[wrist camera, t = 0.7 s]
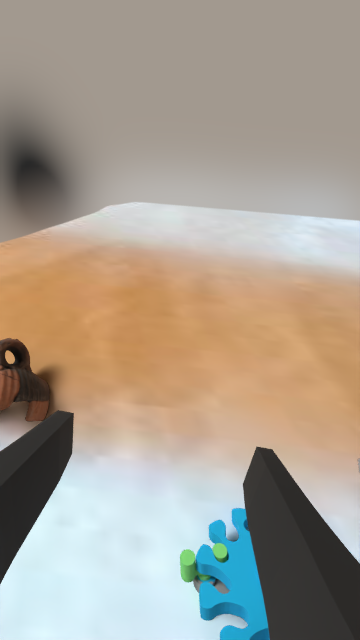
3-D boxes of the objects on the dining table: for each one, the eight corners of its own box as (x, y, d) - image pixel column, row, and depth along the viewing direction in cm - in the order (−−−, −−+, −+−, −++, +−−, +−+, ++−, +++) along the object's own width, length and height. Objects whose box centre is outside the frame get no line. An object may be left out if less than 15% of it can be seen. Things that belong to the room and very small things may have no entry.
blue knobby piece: (336, 515, 19) (417, 739, 10) (333, 581, 20) (406, 852, 10) (197, 486, 22) (155, 632, 13) (199, 544, 23) (160, 724, 13)
